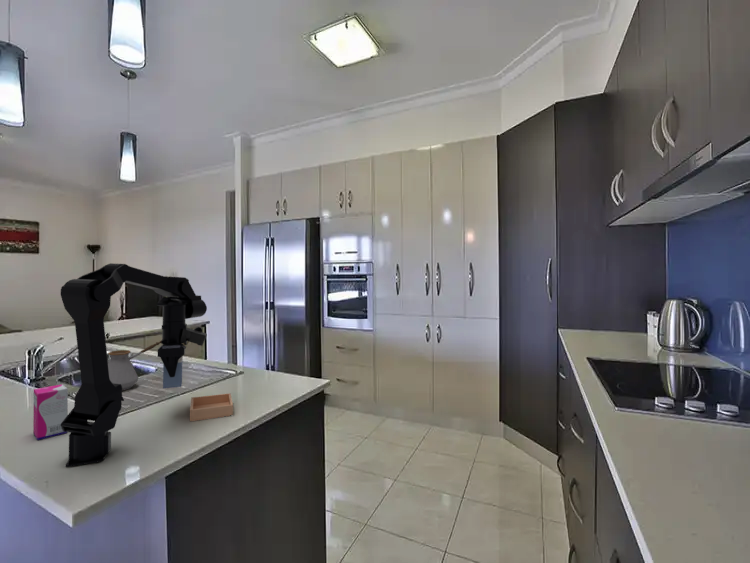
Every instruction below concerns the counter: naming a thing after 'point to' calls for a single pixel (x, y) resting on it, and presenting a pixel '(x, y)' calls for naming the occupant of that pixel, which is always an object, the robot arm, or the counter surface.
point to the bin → (211, 407)
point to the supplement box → (49, 411)
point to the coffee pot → (124, 367)
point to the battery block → (173, 381)
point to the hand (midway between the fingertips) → (173, 374)
